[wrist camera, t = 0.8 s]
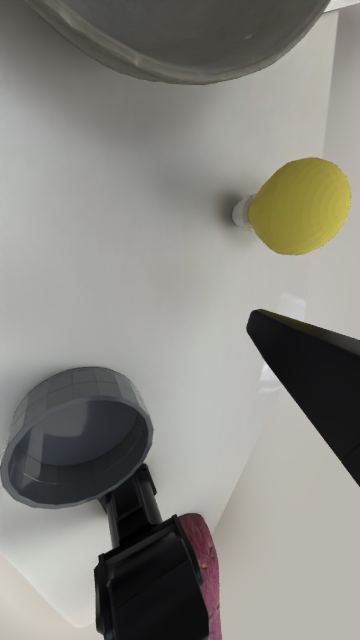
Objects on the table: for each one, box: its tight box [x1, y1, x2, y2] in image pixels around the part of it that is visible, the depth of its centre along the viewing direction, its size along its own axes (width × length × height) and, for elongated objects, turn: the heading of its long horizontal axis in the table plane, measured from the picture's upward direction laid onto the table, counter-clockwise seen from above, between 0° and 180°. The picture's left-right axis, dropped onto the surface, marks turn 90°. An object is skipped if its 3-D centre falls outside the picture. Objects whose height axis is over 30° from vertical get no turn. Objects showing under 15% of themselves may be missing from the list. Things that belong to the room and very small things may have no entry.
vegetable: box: [178, 514, 222, 640], centre depth 35 cm, size 10×10×15 cm
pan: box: [0, 367, 153, 509], centre depth 22 cm, size 12×12×4 cm
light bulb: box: [232, 158, 351, 255], centre depth 19 cm, size 7×7×10 cm
